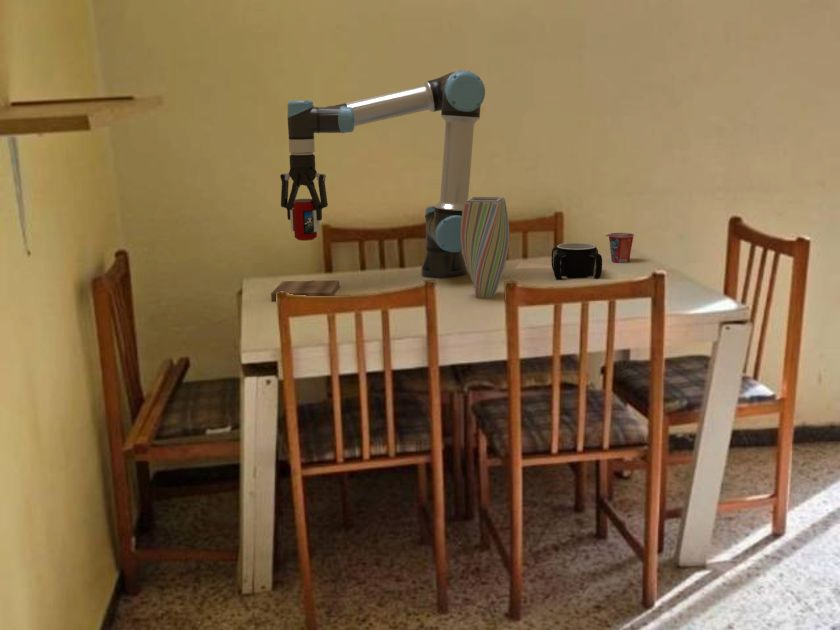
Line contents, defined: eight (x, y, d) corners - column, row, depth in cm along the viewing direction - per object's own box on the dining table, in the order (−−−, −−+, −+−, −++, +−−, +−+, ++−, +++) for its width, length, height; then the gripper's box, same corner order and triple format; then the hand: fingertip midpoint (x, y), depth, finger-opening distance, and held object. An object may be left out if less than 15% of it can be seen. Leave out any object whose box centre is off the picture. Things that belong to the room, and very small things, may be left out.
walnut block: (339, 289, 283) (339, 280, 282) (331, 302, 265) (331, 292, 264) (283, 290, 284) (282, 281, 283) (271, 303, 266) (271, 293, 265)
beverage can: (312, 241, 267) (311, 201, 264) (291, 240, 268) (289, 200, 265) (320, 237, 273) (318, 198, 270) (299, 237, 275) (297, 198, 272)
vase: (511, 298, 263) (511, 195, 256) (505, 308, 250) (505, 201, 243) (466, 296, 266) (465, 195, 259) (458, 307, 253) (456, 201, 246)
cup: (616, 266, 306) (617, 231, 303) (638, 269, 300) (639, 234, 297) (600, 270, 300) (601, 235, 297) (621, 273, 294) (622, 237, 291)
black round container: (551, 277, 290) (552, 241, 287) (602, 278, 287) (603, 241, 284) (548, 288, 275) (548, 249, 272) (601, 289, 271) (602, 250, 269)
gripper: (337, 153, 266) (340, 229, 271) (275, 152, 270) (279, 228, 276) (329, 154, 259) (332, 233, 264) (266, 154, 263) (270, 232, 269)
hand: (305, 230), depth 270 cm, fingers closed on beverage can, 7 cm apart
